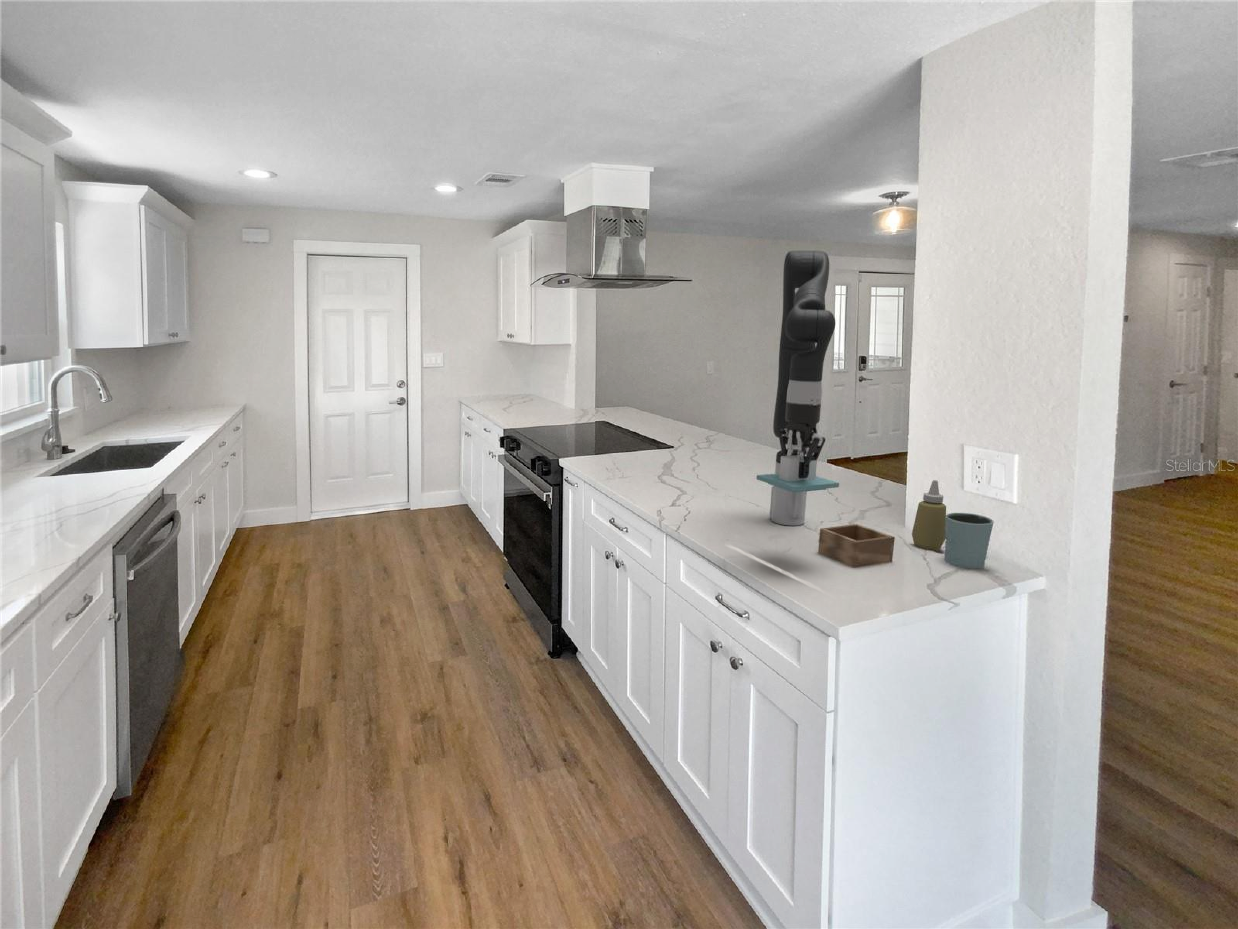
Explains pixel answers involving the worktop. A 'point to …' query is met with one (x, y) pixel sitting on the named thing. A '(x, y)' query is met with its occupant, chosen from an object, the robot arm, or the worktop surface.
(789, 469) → the lid
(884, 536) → the walnut box
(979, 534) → the grey-blue cup
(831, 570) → the worktop surface
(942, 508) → the squeeze bottle
